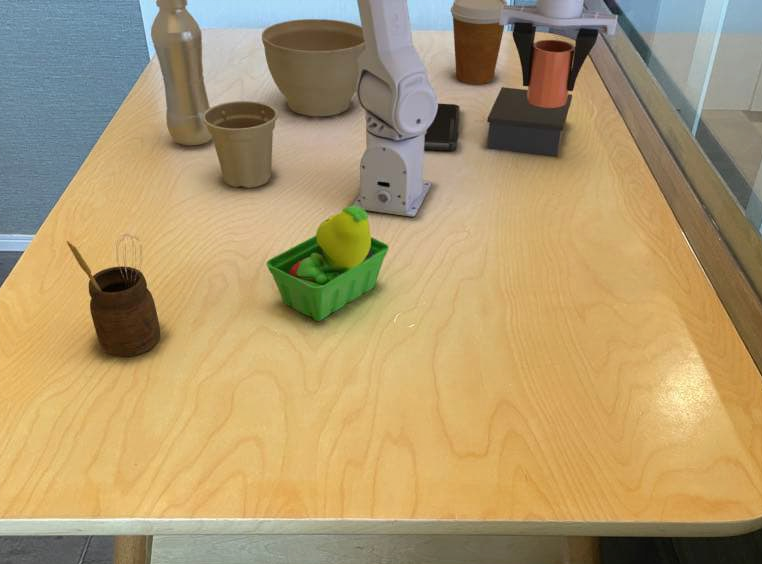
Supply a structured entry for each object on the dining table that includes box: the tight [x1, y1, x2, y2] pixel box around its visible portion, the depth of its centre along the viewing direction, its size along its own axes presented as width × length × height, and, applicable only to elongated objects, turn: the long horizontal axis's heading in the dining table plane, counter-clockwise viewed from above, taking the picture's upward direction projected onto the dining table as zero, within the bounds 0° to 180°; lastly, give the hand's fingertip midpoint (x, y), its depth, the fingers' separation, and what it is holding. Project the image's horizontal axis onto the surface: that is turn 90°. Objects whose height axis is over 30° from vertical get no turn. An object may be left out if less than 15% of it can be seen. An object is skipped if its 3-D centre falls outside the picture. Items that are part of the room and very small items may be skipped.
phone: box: [424, 103, 461, 152], centre depth 121 cm, size 8×1×15 cm
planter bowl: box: [261, 18, 366, 117], centre depth 124 cm, size 16×16×11 cm
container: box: [486, 86, 573, 157], centre depth 119 cm, size 13×11×4 cm
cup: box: [527, 39, 575, 108], centre depth 107 cm, size 5×5×7 cm
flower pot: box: [202, 100, 279, 189], centre depth 105 cm, size 9×9×9 cm
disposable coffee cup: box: [450, 0, 508, 85], centre depth 135 cm, size 10×10×12 cm
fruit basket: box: [266, 205, 390, 322], centre depth 83 cm, size 11×9×11 cm
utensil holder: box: [66, 233, 161, 357], centre depth 76 cm, size 6×6×12 cm
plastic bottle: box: [150, 0, 213, 146], centre depth 110 cm, size 6×7×20 cm
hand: (548, 86), depth 108 cm, fingers closed on cup, 5 cm apart
